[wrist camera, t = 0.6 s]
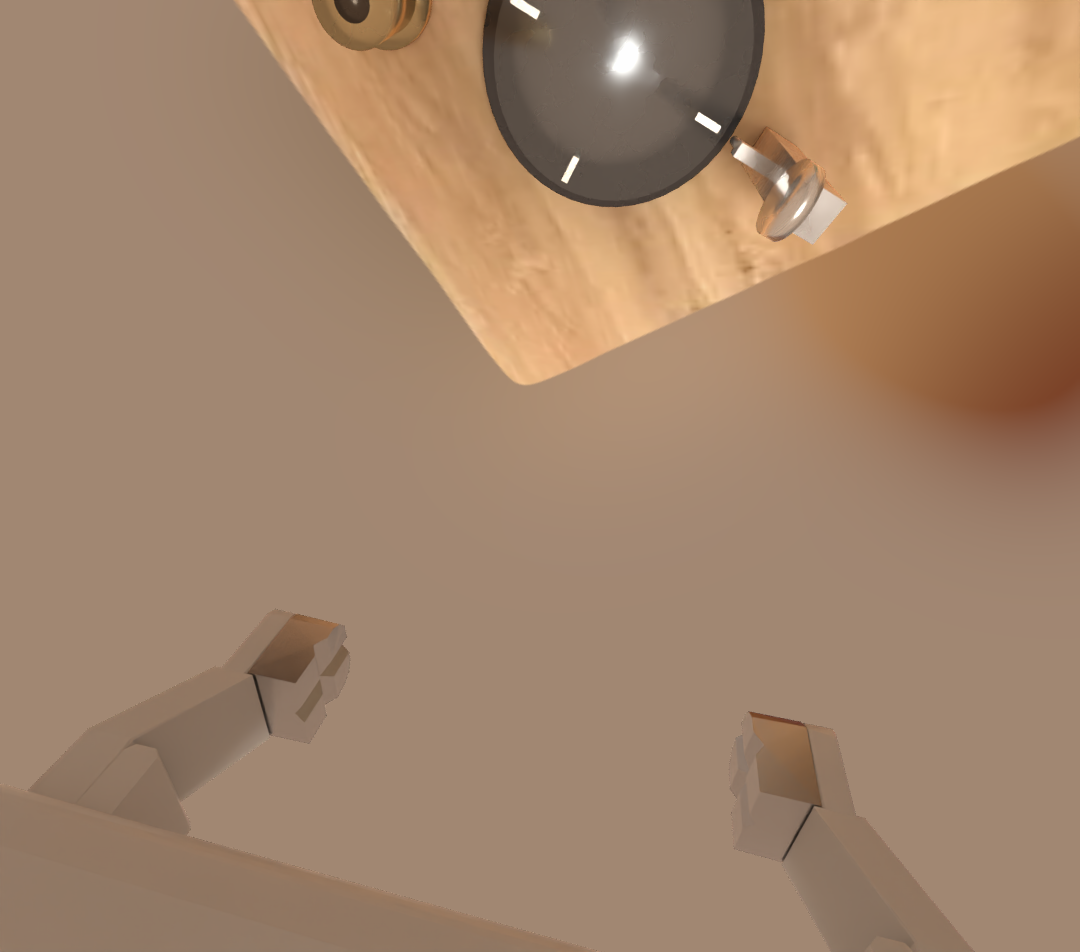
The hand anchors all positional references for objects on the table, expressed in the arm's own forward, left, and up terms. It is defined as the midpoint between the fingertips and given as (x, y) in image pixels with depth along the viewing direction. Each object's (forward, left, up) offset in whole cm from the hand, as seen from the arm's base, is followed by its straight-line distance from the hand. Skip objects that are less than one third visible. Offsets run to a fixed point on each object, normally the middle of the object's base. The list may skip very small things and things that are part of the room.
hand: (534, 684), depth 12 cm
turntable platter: (-4, +1, -46) cm, 46 cm away
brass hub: (0, -16, -48) cm, 51 cm away
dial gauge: (-4, +14, -48) cm, 50 cm away
